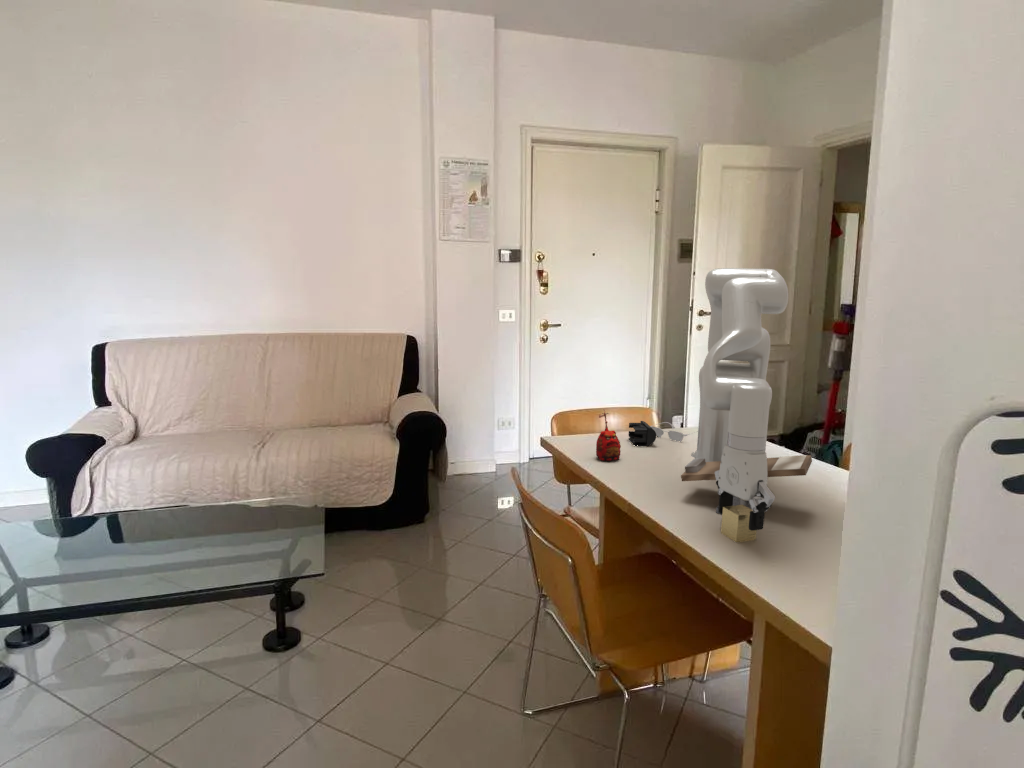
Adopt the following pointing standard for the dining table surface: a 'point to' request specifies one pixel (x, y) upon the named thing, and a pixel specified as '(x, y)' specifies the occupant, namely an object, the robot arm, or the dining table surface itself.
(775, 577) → the dining table surface
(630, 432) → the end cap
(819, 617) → the dining table surface
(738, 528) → the tan wooden cube
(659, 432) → the eyeglasses
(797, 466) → the balance beam
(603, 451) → the red clay folk toy
